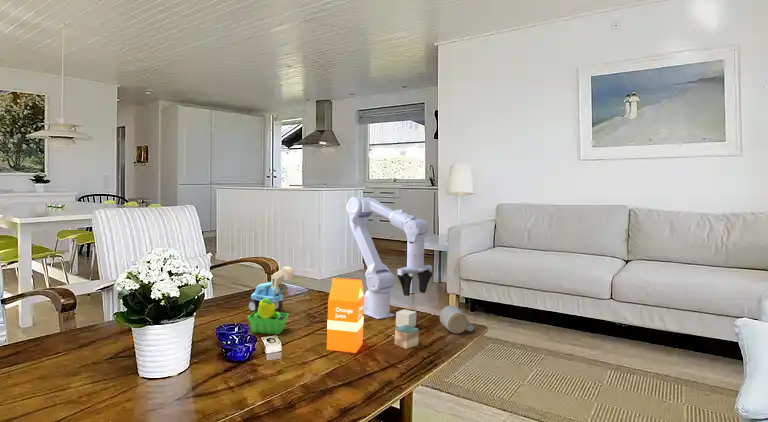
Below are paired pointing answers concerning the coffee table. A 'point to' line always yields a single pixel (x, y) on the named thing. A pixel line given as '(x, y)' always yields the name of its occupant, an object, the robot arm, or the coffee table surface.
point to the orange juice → (345, 315)
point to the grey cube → (405, 318)
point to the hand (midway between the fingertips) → (414, 294)
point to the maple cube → (406, 336)
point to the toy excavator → (271, 290)
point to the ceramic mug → (454, 320)
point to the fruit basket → (267, 318)
